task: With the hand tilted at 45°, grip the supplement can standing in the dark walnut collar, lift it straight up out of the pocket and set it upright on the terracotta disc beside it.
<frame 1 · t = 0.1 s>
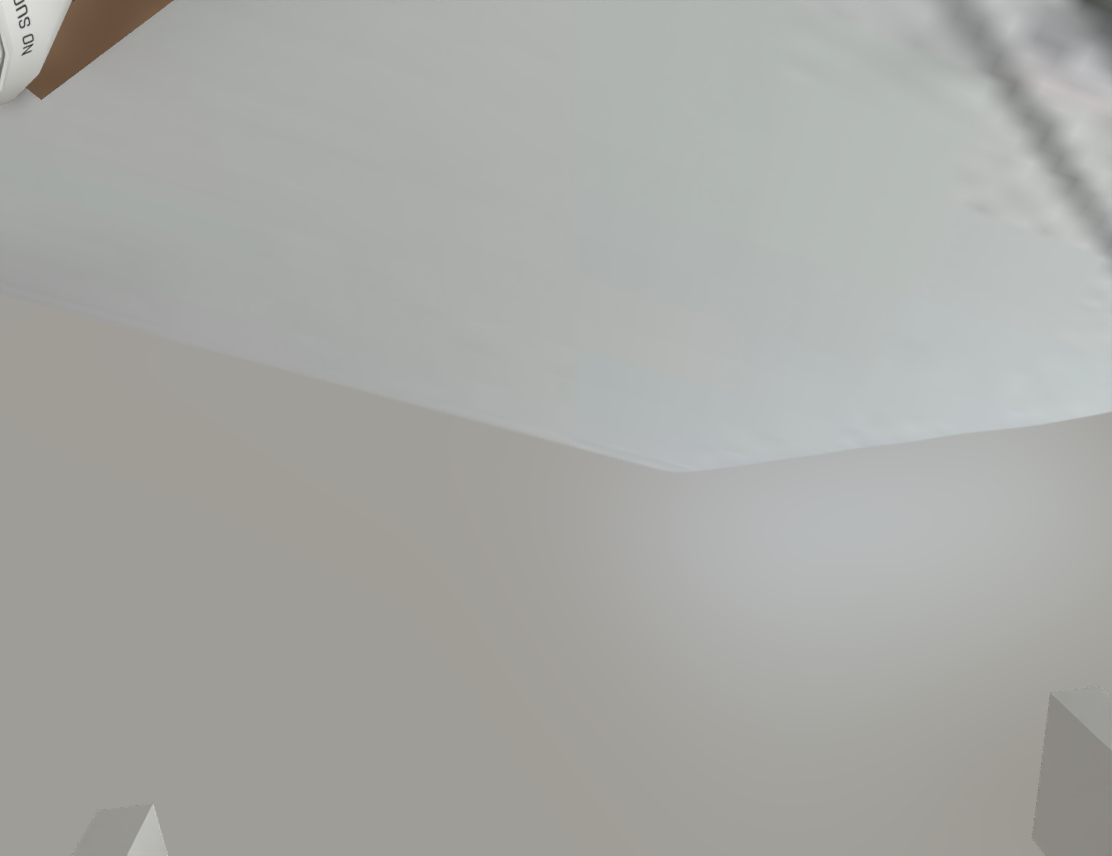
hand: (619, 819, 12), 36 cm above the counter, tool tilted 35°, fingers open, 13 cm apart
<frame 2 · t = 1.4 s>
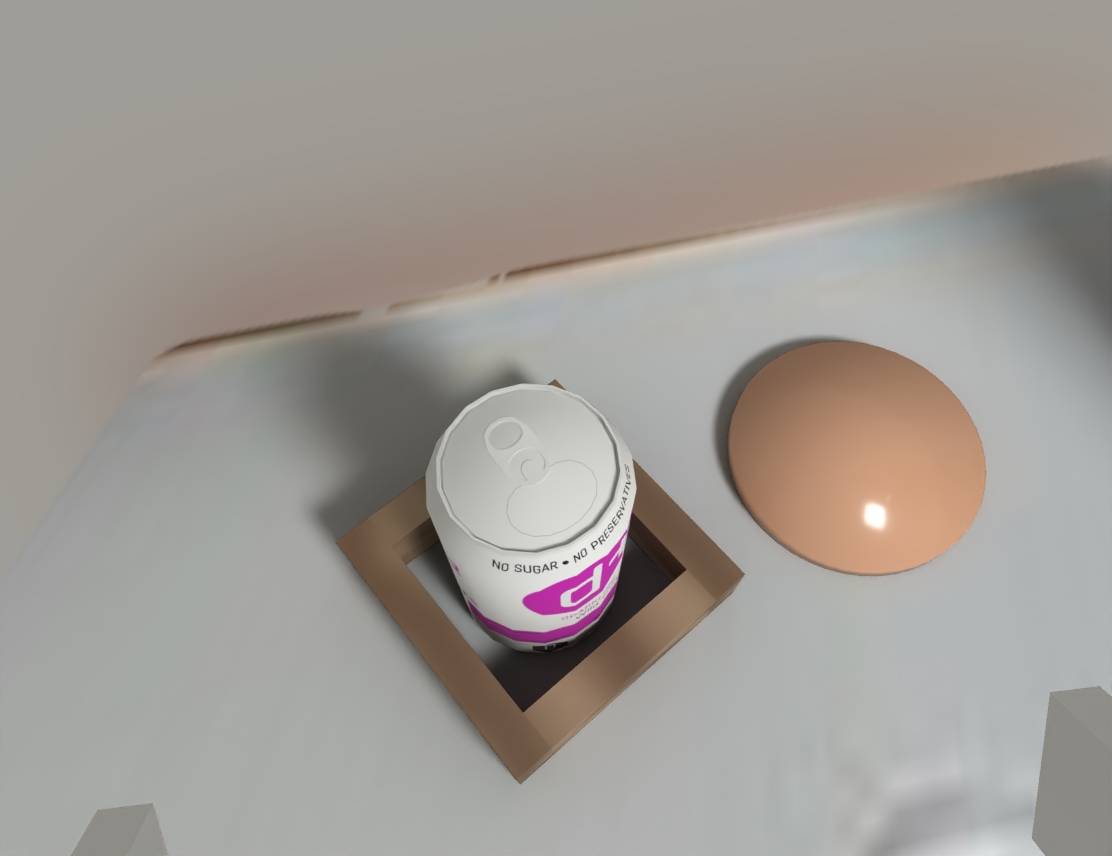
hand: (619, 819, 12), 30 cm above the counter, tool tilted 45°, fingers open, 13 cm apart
terracotta disc: (851, 455, 48), on the counter
walnut collar: (539, 577, 45), on the counter
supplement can: (539, 579, 45), resting in walnut collar
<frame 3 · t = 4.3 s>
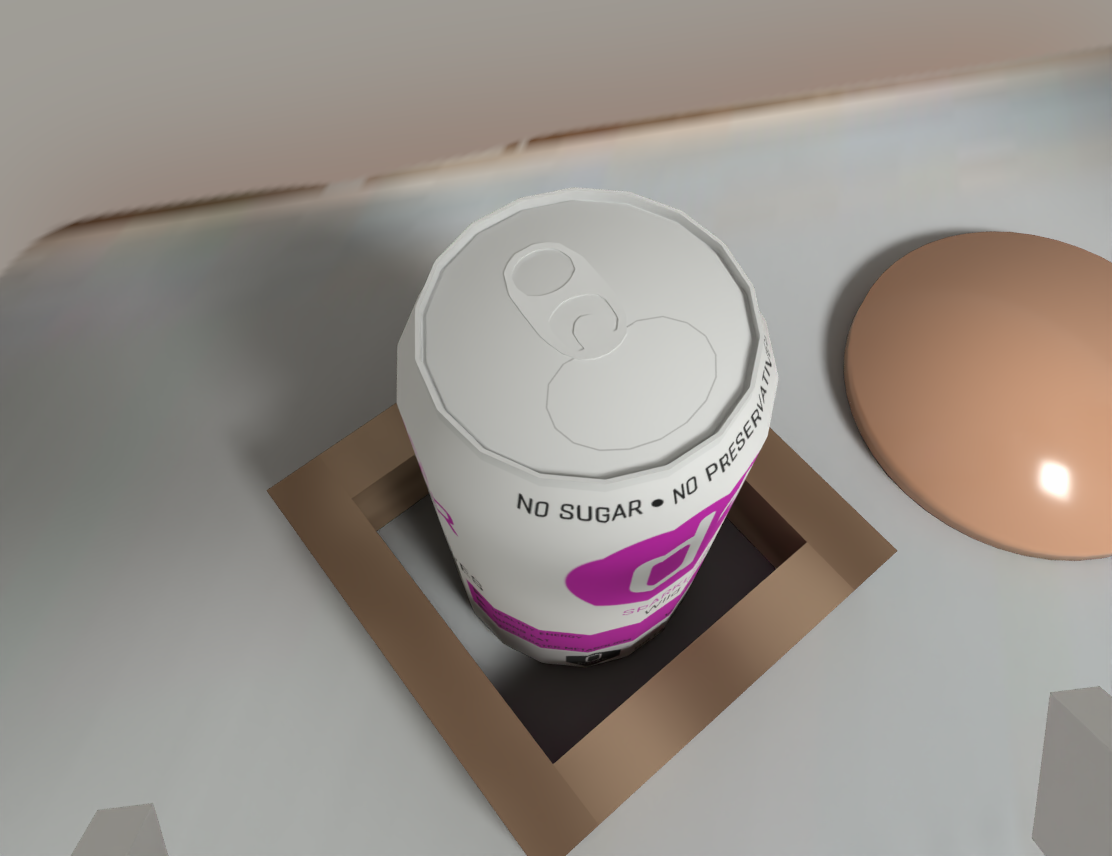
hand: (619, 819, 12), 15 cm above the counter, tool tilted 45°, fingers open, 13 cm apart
terracotta disc: (1023, 389, 33), on the counter
walnut collar: (574, 553, 30), on the counter
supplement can: (574, 555, 30), resting in walnut collar
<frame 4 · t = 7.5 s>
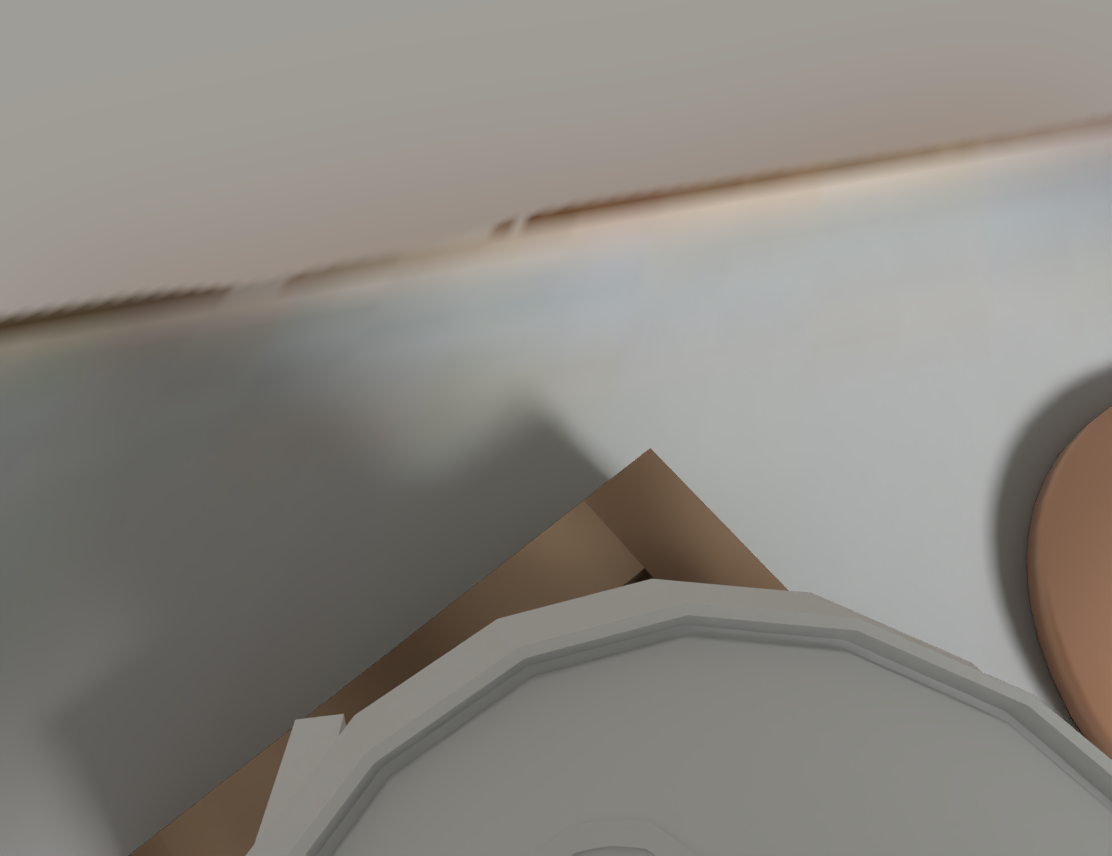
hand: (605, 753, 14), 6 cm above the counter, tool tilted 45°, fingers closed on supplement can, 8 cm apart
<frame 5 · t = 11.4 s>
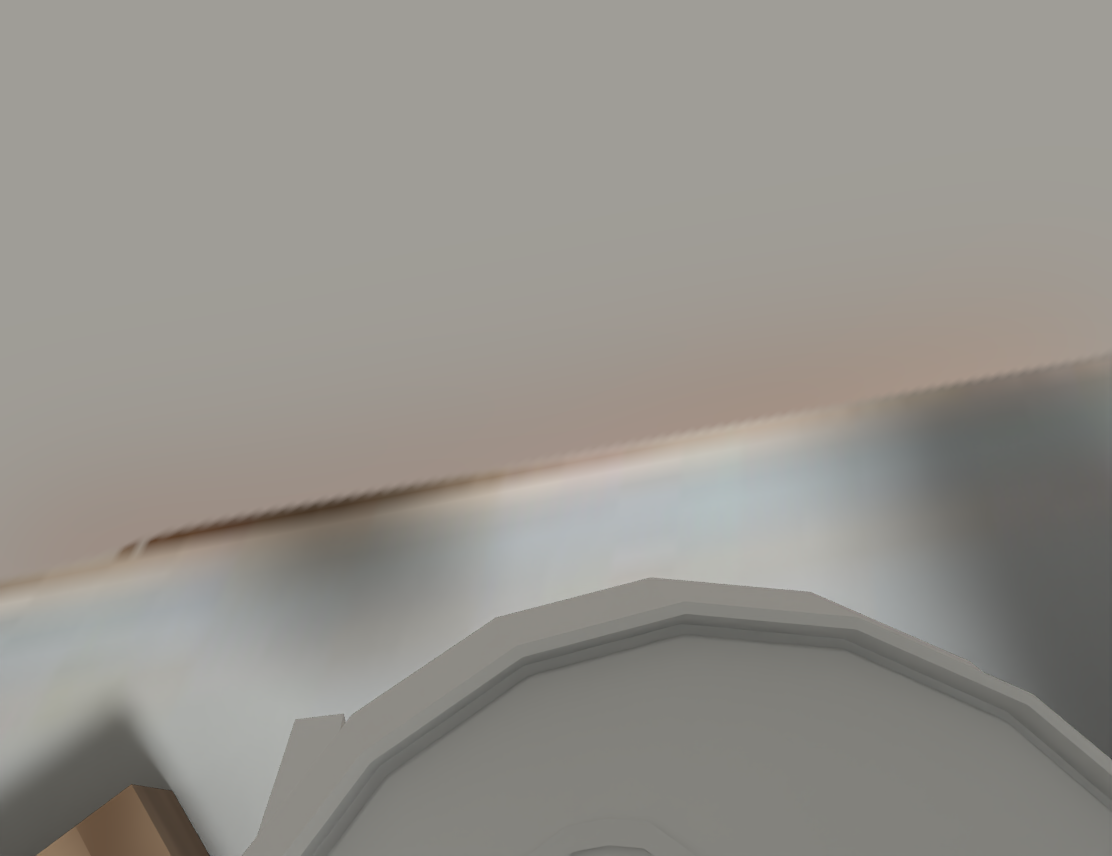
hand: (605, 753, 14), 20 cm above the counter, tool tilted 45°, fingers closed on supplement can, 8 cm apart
when the fingers open (9 cm above the counter, at t = 15.3 s): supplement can drops 1 cm, resting on terracotta disc.
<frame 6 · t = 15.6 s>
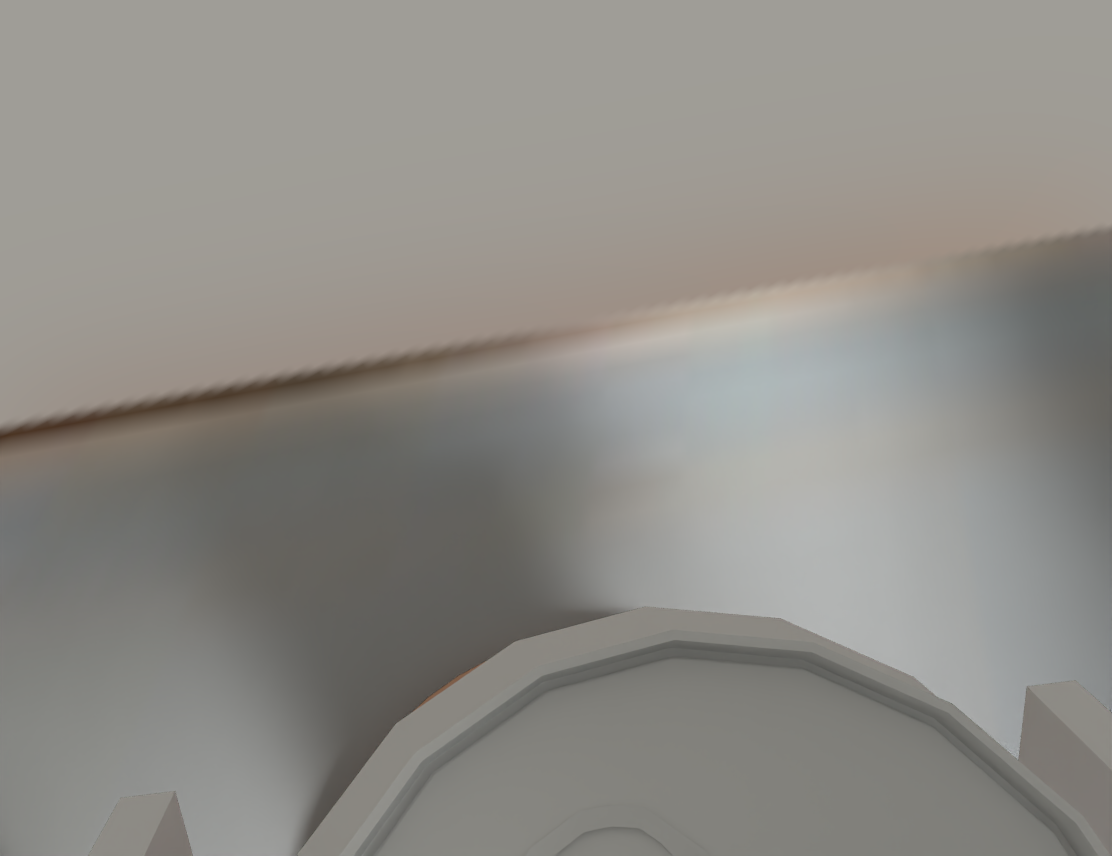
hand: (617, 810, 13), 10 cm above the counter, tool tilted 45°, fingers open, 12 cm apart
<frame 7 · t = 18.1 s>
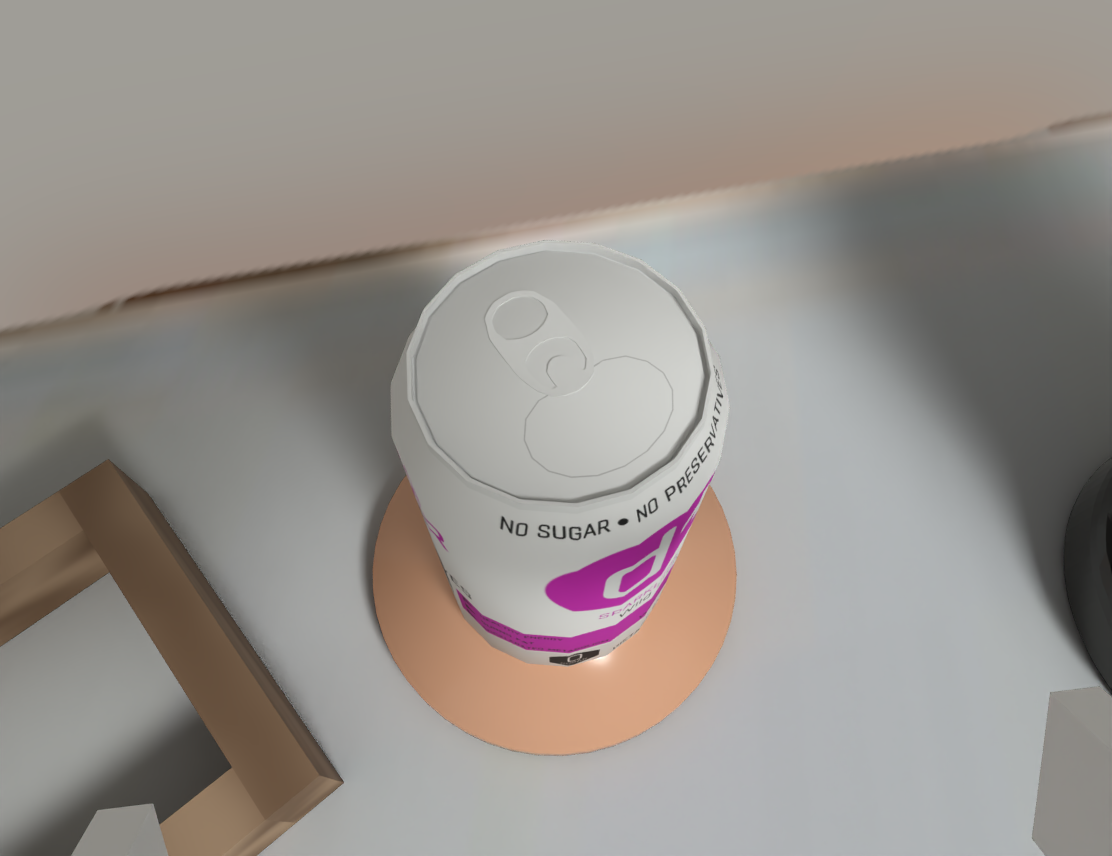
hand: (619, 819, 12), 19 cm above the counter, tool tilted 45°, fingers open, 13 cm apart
terracotta disc: (554, 567, 33), on the counter
walnut collar: (63, 756, 30), on the counter
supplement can: (556, 563, 33), point 1 cm above the counter, touching terracotta disc
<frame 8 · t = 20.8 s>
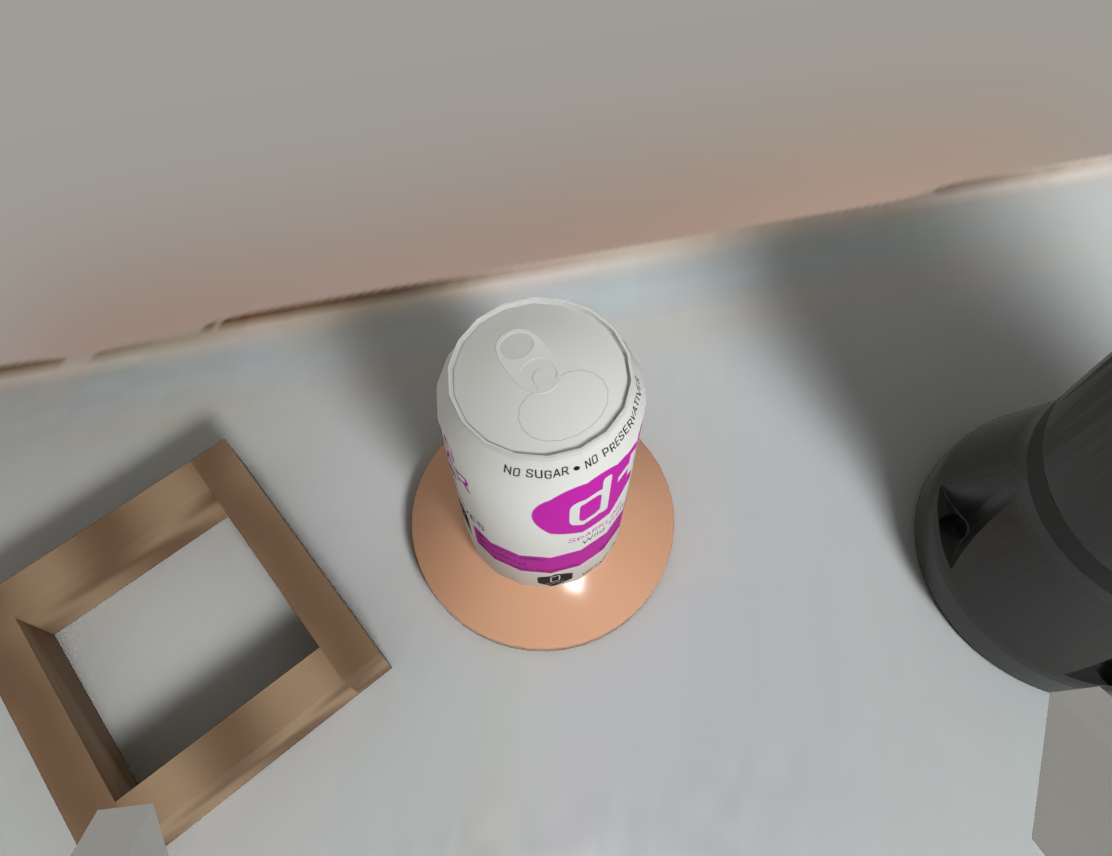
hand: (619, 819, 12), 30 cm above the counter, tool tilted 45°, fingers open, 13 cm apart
terracotta disc: (543, 521, 46), on the counter
walnut collar: (194, 648, 43), on the counter
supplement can: (544, 517, 45), point 1 cm above the counter, touching terracotta disc
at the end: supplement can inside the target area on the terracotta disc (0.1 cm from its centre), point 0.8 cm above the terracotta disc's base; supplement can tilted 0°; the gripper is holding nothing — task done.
